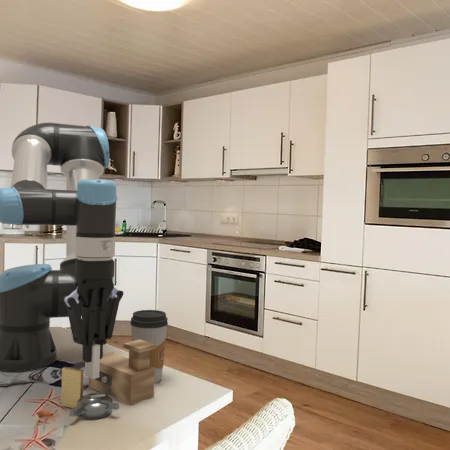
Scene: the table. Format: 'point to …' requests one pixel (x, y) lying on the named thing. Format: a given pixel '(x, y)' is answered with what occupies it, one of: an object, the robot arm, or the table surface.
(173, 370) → the table surface
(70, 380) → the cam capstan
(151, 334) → the coffee cup
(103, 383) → the wooden drawer box
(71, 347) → the table surface
